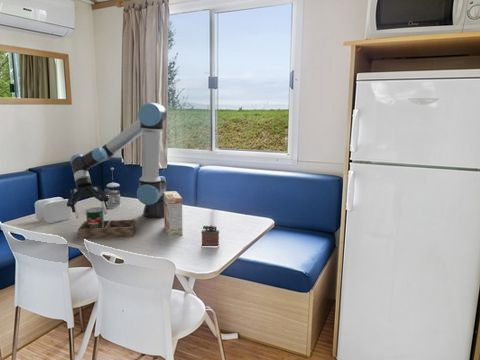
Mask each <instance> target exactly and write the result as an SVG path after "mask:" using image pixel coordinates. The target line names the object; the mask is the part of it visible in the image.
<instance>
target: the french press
mask: <svg viewBox="0 0 480 360" xmlns="http://www.w3.org/2000/svg"><path fill="white" fill-rule="evenodd" d="M110 170H111V172H112V173H111V175H112V176H111V177H112V179H114V177H113V175H114V174H113V170H115V168H114V167H110ZM120 186H121V185H120V184H119V183H118V182H117V183H116V182H110V183H107V184H106V188H104V191H103V192H104V193H105V194H106V195H107V196H108V198H109V201H108V202H106V203H107V208H106V209H119V208H122V207H123V205H122V204H121V193H120V190H118V189H116V190H114V189H112V190H110V189H109V188H118V187H120Z"/></svg>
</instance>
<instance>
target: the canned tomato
mask: <svg viewBox="0 0 480 360" xmlns="http://www.w3.org/2000/svg"><path fill="white" fill-rule="evenodd" d="M85 213H86V214H85V215H86V221H87V229H91V228H104V221H105V219H104V211H103V207H102V208H101V207H91V208H88V209H86V211H85Z"/></svg>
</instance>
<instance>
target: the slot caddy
mask: <svg viewBox="0 0 480 360" xmlns="http://www.w3.org/2000/svg"><path fill="white" fill-rule="evenodd" d="M136 227H137V226H136V219H116V220H115V219H113V220H104V228H91V229H87V220H85V221H83V223H82V224H81V225H80V226H79V228H78V229H77V234H78V239H79V238H81V239H100V238H101V239H102V238H126V237H127V238H129V237H133V236H134V234H135V231H136Z"/></svg>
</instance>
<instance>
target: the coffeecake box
mask: <svg viewBox="0 0 480 360" xmlns="http://www.w3.org/2000/svg"><path fill="white" fill-rule="evenodd" d="M163 219H164V222H163V223H164V224H163V225H164V229H165V231H166V234H167V235H168V237H169V236H170V237H177V235H179V236H183V197H182V196H181V195H180V194H179V193H178V191H175V190H173V191H172V190H171V191H167V190H166V192H164V217H163Z"/></svg>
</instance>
